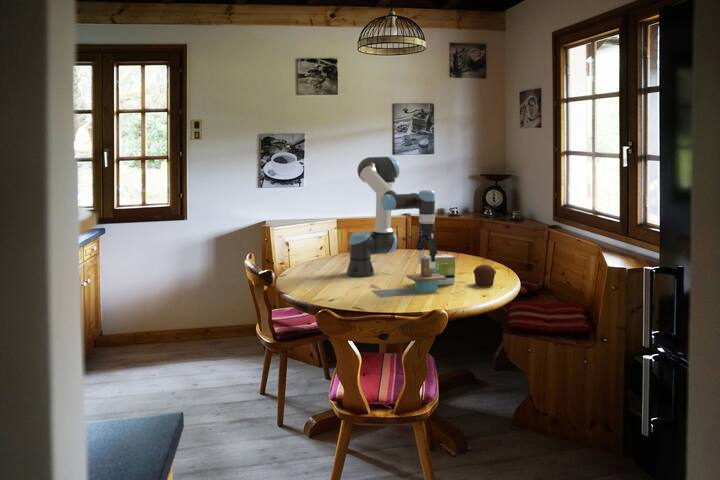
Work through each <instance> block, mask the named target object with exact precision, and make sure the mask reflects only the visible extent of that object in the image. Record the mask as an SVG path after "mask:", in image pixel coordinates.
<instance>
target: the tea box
mask: <svg viewBox="0 0 720 480" xmlns="http://www.w3.org/2000/svg"><path fill="white" fill-rule="evenodd" d="M427 257H429V254H424V258H427ZM432 273H438V274H441V275H443V276H445V277H447V279H446V280H438V286H447V285H451V286H452V285H455V278H456V256H454V255H452V254H449V253H440V254H439V253H437V254H436V255H435V268H432Z"/></svg>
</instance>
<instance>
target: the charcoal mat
mask: <svg viewBox="0 0 720 480" xmlns="http://www.w3.org/2000/svg"><path fill="white" fill-rule="evenodd" d="M371 292H372V293H373V294H375V295H376V296H378V297H379V298H387V297H390V298H391V297H399V296H400V297H401V296H409V295H410V296H412V295H419V294H420V292H419V293H418V291H416V290H415V289H412V288H410V287H399V288H388V289H387V288H386V289H373V290H371Z"/></svg>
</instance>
